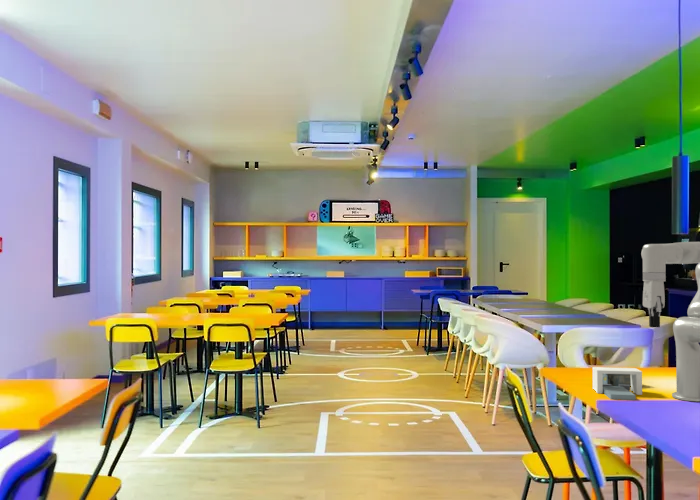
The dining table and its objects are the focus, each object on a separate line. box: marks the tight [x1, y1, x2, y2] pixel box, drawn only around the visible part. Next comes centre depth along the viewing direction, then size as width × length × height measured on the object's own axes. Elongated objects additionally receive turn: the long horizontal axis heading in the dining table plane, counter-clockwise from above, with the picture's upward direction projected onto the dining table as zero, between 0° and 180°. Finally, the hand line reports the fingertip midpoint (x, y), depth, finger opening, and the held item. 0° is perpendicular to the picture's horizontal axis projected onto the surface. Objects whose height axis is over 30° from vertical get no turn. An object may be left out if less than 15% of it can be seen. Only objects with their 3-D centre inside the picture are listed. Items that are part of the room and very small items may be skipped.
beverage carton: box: [603, 374, 631, 387], centre depth 258 cm, size 8×19×7 cm, turn 112°
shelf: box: [592, 366, 643, 395], centre depth 246 cm, size 17×8×9 cm, turn 81°
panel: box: [602, 386, 636, 401], centre depth 240 cm, size 9×16×2 cm, turn 172°
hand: (654, 327), depth 221 cm, fingers closed
